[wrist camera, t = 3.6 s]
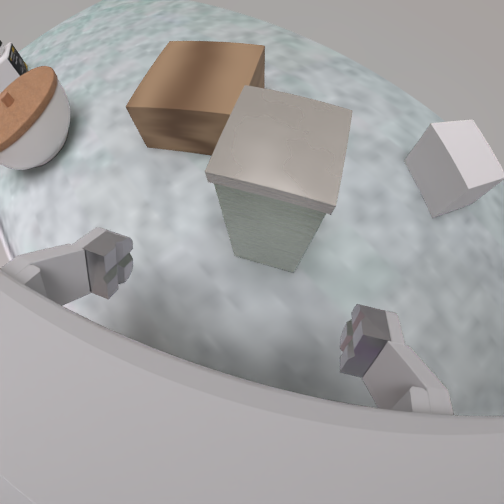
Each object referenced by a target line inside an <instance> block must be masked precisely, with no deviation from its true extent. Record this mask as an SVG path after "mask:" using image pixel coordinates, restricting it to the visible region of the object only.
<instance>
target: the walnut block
mask: <svg viewBox="0 0 504 504" xmlns="http://www.w3.org/2000/svg"><path fill="white" fill-rule="evenodd" d="M264 69H265V46H262V45H253V44H243V43H230V42H210V41H170V42H169V43H168V44H167V46H166V47H165V48H164V50H163V51H162V52H161V54H160V55H159V56H158V58H157V59H156V61H155V62H154V64H153V65H152V66H151V68H150V69H149V71H148V72H147V74H146V75H145V77H144V78H143V80H142V81H141V83H140V84H139V86H138V88H137V89H136V91H135V92H134V94H133V96H132V97H131V99H130V100H129V102H128V104H127V105H126V108H127V110H128V112H129V114H130V116H131V118H132V120H133V122H134V124H135V125H136V127H137V129H138V131H139V133H140V135H141V137H142V139H143V140H144V142H145V144H146V146H147V147H149V148H158V149H167V150H175V151H183V152H190V153H198V154H205V155H211V156H212V154H213V152H214V149H215V147H216V145H217V143H218V140H219V138H220V136H221V134H222V132H223V129H224V127H225V125H226V123H227V121H228V119H229V117H230V114H231V112H232V110H233V108H234V106H235V104H236V102H237V100H238V98H239V96H240V94H241V92H242V90H243V88H244V86H245V85H248V86H254V87H259V88H264Z"/></svg>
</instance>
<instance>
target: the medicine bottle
mask: <svg viewBox="0 0 504 504" xmlns="http://www.w3.org/2000/svg"><path fill="white" fill-rule="evenodd" d="M27 70H28V67H27V65H26V64H25V62H24V61H23V59H22V58H21V56H20V55H19V53H18V52H17V50H16V49H15V47H14V46H13V44H12V43H11V42H10V43H8V44H7V45H6V46H5V47H4V45H3V44H2V42H1V41H0V93H1V92H2V91H3V90H4V89H5V88H6V87H7V86H8V85H10V84H11V83H12V82H13V81H14V80H16V79H17V78H18V77H20V76H21V75H23V74H24V73H26V72H27Z"/></svg>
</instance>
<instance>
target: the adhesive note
mask: <svg viewBox="0 0 504 504" xmlns="http://www.w3.org/2000/svg"><path fill="white" fill-rule="evenodd" d="M404 162H405V164H406V166H407V168H408V169H409V171H410V173H411V175H412V177H413V179H414V181H415V183H416V185H417V187H418V189H419V191H420V193H421V195H422V197H423V199H424V201H425V203H426V205H427V207H428V209H429V212H430V214H431V216H432V218H434V217H437V216H440V215H443V214H446V213H448V212H451V211H454V210H457V209H459V208H462V207H465V206H468V205H470V204H473V203H474V202H475V201H477V200H478V199H479V198H481V197H482V196H483V195H484V194H486V193H487V192H488V191H490V190H491V189H492V188H494V187H495V186H496V185H497V184H499V183H500V182H501V181H502V180H504V171H503V169H502V167H501V165H500V164H499V162H498V160H497V158H496V156H495V155H494V153H493V151H492V150H491V148H490V146H489V144H488V143H487V141H486V139H485V138H484V136H483V135H482V133H481V132H480V130H479V128H478V127H477V125H476V124H475V122H474V121H473V120H462V121H450V122H440V123H431V124H430V125H429V127H428V128H427V129H426V131H425V132H424V134H423V135H422V137H421V138H420V139H419V141H418V142H417V144H416V145H415V146H414V148H413V149H412V150H411V152H410V153H409V155H408V156H407V157H406V159H405V160H404Z"/></svg>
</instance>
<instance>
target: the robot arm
mask: <svg viewBox="0 0 504 504" xmlns="http://www.w3.org/2000/svg"><path fill="white" fill-rule="evenodd" d="M132 249H133V241H132V239H131V238H130V237H127V236H124V235H121V234H118V233H115V232H112V231H109V230H106V229H103V228H100V227H96V228H95V229H93V230H92V231H90V232H89V233H87V234H86V235H85V236H83V237H82V238H80V239H79V240H77V241H76V242H75V243H73V244H72V245H71V244H65V245H61V246H56V247H52V248H47V249H43V250H39V251H35V252H30V253H26V254H22V255H18V256H16V257H15V258H14V259H12V260H11V261H10V262H8V263H7V264H6V265H4V266H3V267H2V268H0V504H504V416H460V415H454V413H453V409H452V404H451V400H450V396H449V392H448V390H447V388H446V387H445V386H444V385H443V384H442V383H441V381H440V380H439V379H438V378H437V377H436V376H435V374H434V373H433V372H432V371H431V370H430V369H429V368H428V366H427V365H426V364H425V363H424V362H423V361H422V360H421V359H420V357H419V356H418V355H417V354H416V353H415V352H414V351H413V350H412V348H411V347H410V346H408V345H405V341H404V337H403V333H402V329H401V325H400V321H399V317H398V315H397V313H394V312H390V311H385V310H380V309H376V308H372V307H368V306H364V305H359V304H357V305H356V306H355V307H354V309H353V311H352V313H351V314H352V320H350V321H348V322H347V323H346V325H345V327H344V329H343V331H342V335H341V339H340V349H341V350H342V352H343V353H342V355H341V356H340V372H341V373H345V374H349V375H353V376H358V377H362V380H363V381H364V383H365V385H366V387H367V389H368V390H369V392H370V394H371V396H372V398H373V399H374V401H375V403H376V405H377V407H378V408H374V407H368V406H361V405H355V404H349V403H343V402H338V401H332V400H327V399H322V398H317V397H313V396H308V395H304V394H299V393H295V392H291V391H287V390H283V389H279V388H275V387H271V386H268V385H264V384H260V383H257V382H253V381H250V380H246V379H243V378H239V377H236V376H233V375H229V374H226V373H223V372H220V371H217V370H214V369H211V368H208V367H205V366H202V365H199V364H196V363H193V362H190V361H187V360H184V359H182V358H179V357H176V356H173V355H171V354H168V353H166V352H163V351H160V350H158V349H155V348H153V347H150V346H148V345H145V344H143V343H140V342H138V341H136V340H133V339H131V338H128V337H126V336H124V335H122V334H119V333H117V332H115V331H113V330H110V329H108V328H106V327H104V326H102V325H99V324H97V323H95V322H93V321H91V320H89V319H87V318H85V317H83V316H81V315H79V314H77V313H75V312H73V311H71V310H69V309H67V308H65V307H63V305H65V304H67V303H69V302H72V301H74V300H76V299H78V298H81V297H83V296H85V295H88V294H90V292H91V293H94V294H96V295H99V296H101V297H104V298H107V299H110V298H111V296H112V295H113V294H114V293H115V292H116V291H117V290H118V284H121V283H124V282H126V280H127V279H128V278H129V277H130V274H131V272H132V269H133V258H132V256H131V255H130V252H131V250H132Z"/></svg>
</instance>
